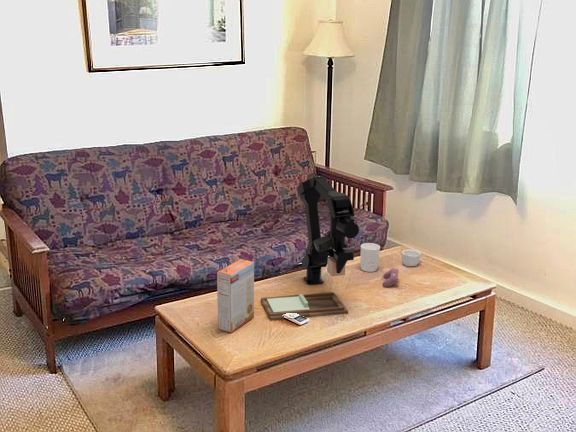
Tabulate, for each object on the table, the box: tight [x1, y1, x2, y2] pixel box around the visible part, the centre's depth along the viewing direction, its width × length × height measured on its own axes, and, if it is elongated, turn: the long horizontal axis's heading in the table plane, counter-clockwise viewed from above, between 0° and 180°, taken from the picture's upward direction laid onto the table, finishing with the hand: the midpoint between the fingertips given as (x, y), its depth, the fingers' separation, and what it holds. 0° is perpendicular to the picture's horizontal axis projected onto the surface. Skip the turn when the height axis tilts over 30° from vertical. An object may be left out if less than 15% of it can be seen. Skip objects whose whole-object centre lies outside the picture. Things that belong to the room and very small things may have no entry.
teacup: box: [401, 249, 422, 267], centre depth 287 cm, size 10×8×5 cm
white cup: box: [360, 242, 381, 273], centre depth 280 cm, size 8×8×10 cm
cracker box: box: [216, 258, 255, 334], centre depth 228 cm, size 14×6×21 cm, turn 150°
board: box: [260, 291, 349, 321], centre depth 245 cm, size 16×28×2 cm, turn 104°
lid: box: [267, 293, 310, 313], centre depth 243 cm, size 11×13×2 cm
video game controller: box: [382, 267, 399, 288], centre depth 268 cm, size 10×5×7 cm, turn 170°
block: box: [326, 256, 346, 277], centre depth 248 cm, size 5×5×6 cm
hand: (335, 270), depth 248 cm, fingers closed on block, 5 cm apart
